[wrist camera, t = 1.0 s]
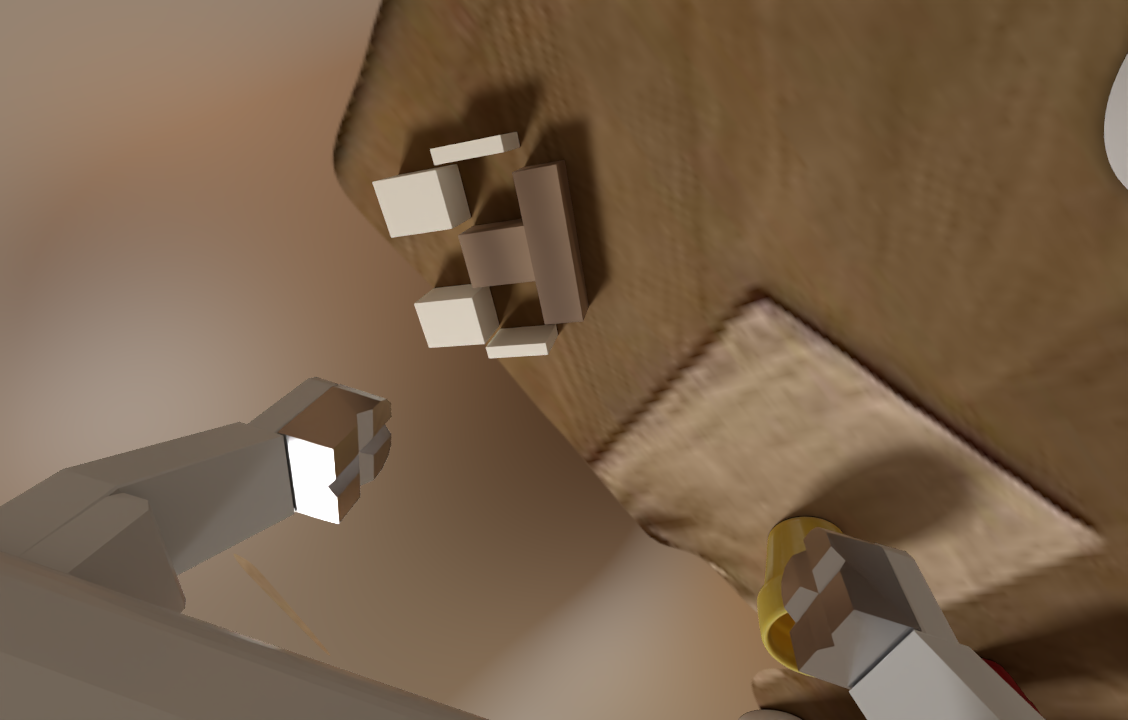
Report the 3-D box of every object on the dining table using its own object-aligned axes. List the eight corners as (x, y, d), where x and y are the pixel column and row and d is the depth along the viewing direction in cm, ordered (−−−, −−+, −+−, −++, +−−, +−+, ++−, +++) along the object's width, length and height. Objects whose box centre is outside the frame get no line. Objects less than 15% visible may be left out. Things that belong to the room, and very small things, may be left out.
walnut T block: (565, 159, 33) (556, 164, 30) (589, 306, 37) (583, 321, 35) (460, 178, 35) (443, 184, 32) (496, 315, 40) (484, 330, 37)
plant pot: (833, 590, 46) (866, 698, 38) (730, 557, 47) (741, 656, 39) (891, 522, 41) (945, 630, 33) (775, 486, 42) (798, 583, 34)
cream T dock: (516, 131, 32) (500, 134, 29) (558, 335, 39) (548, 354, 36) (392, 156, 35) (365, 162, 32) (451, 342, 42) (433, 361, 39)
